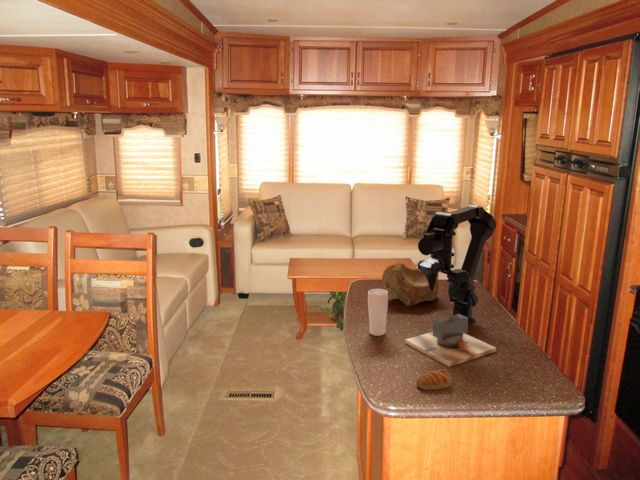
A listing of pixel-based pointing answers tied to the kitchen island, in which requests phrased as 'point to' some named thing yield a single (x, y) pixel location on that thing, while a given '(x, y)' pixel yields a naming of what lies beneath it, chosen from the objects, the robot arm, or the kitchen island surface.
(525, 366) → the kitchen island surface
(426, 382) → the pastry
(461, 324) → the coupling
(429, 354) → the beige square board
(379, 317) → the drinking glass
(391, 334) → the kitchen island surface
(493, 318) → the kitchen island surface
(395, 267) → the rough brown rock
